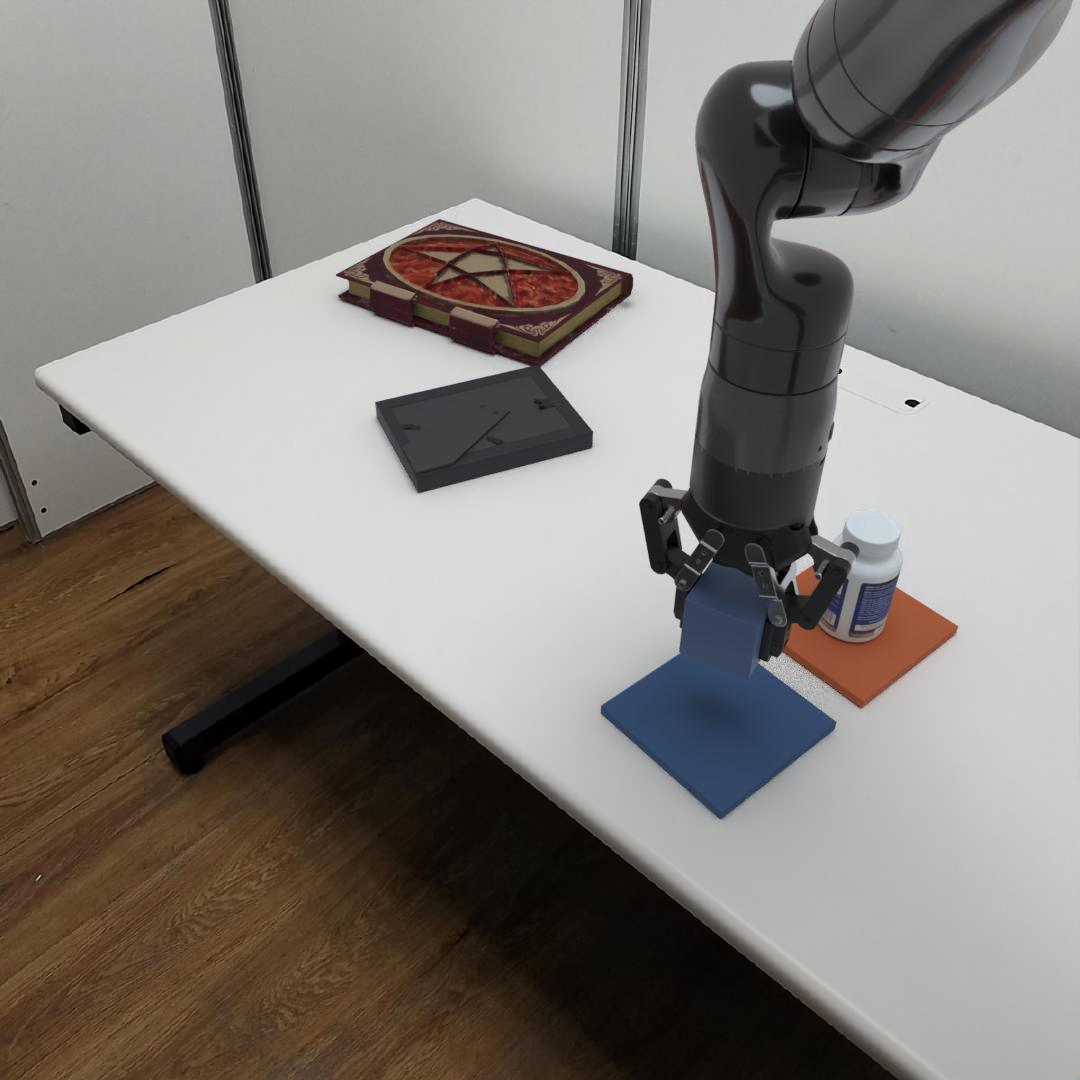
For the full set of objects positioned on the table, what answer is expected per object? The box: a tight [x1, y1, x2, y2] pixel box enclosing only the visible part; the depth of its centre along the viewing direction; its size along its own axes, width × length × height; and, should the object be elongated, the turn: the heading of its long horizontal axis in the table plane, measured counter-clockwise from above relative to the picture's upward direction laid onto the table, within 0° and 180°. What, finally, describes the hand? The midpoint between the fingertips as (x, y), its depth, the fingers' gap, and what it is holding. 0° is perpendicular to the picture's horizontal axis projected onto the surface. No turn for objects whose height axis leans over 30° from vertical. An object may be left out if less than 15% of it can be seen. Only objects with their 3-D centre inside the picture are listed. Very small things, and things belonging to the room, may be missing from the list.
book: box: [335, 218, 634, 366], centre depth 125 cm, size 28×21×5 cm
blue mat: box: [600, 652, 838, 820], centre depth 77 cm, size 12×12×1 cm
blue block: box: [678, 560, 768, 680], centre depth 70 cm, size 5×5×5 cm
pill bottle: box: [818, 509, 904, 642], centre depth 81 cm, size 5×5×10 cm
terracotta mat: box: [783, 564, 959, 709], centre depth 84 cm, size 12×12×1 cm
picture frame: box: [374, 365, 594, 493], centre depth 104 cm, size 13×2×18 cm
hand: (728, 636), depth 72 cm, fingers closed on blue block, 5 cm apart
